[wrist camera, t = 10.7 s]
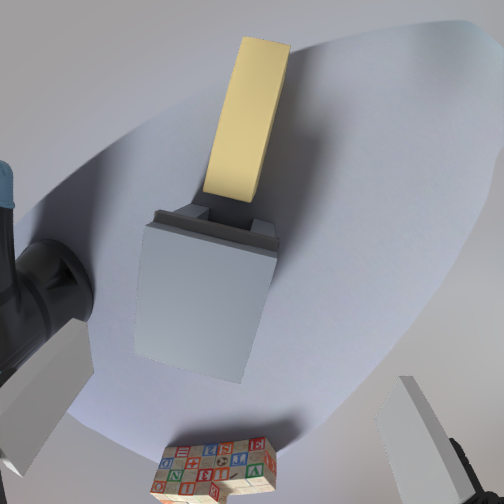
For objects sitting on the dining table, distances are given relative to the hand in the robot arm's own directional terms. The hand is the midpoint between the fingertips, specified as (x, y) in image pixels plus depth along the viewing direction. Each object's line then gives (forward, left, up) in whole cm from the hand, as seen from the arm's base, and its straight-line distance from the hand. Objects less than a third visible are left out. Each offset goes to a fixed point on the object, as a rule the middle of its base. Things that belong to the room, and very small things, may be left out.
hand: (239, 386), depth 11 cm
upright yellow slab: (-4, +12, -25) cm, 28 cm away
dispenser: (-4, -4, -25) cm, 25 cm away
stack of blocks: (+3, -42, -25) cm, 49 cm away
